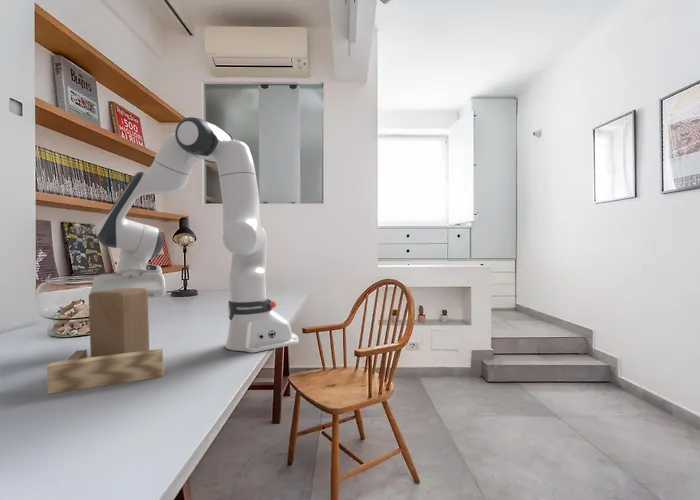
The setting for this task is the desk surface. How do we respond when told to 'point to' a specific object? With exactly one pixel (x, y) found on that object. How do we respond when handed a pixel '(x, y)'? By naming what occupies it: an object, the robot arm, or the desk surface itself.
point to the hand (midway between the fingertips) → (127, 308)
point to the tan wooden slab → (103, 369)
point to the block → (118, 321)
